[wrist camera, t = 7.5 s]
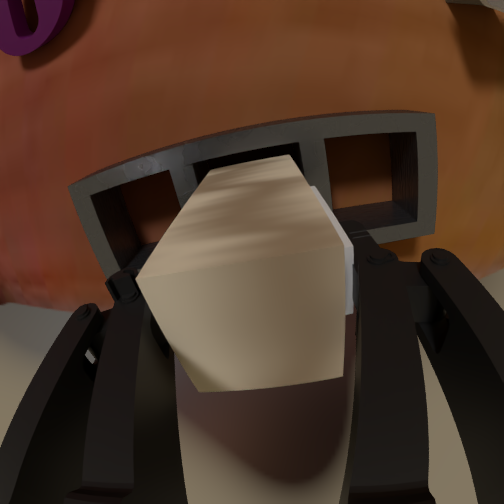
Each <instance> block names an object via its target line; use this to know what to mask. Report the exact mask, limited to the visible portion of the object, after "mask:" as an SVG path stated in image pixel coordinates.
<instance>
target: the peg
mask: <svg viewBox="0 0 504 504" xmlns="http://www.w3.org/2000/svg"><path fill="white" fill-rule="evenodd" d="M136 281H137V283H138V286H139V288H140V290H141V292H142V294H143V296H144V298H145V300H146V302H147V304H148V306H149V308H150V310H151V311H152V313H153V315H154V317H155V319H156V321H157V323H158V325H159V326H160V328H161V330H162V332H163V334H164V335H165V337H166V339H167V341H168V343H169V344H170V346H171V348H172V349H173V351H174V353H175V355H176V356H177V358H178V360H179V361H180V363H181V364H182V366H183V368H184V369H185V371H186V373H187V374H188V376H189V377H190V379H191V381H192V382H193V384H194V385H195V387H196V388H197V390H198V391H199V392H215V391H216V392H217V391H235V390H250V389H261V388H271V387H279V386H288V385H295V384H302V383H308V382H314V381H321V380H326V379H332V378H337V377H341V376H343V365H344V345H345V255H344V244H343V242H342V240H341V238H340V237H339V235H338V233H337V231H336V230H335V228H334V226H333V224H332V223H331V221H330V219H329V217H328V216H327V214H326V212H325V211H324V209H323V207H322V206H321V204H320V202H319V201H318V199H317V197H316V196H315V194H314V192H313V191H312V189H311V187H310V186H309V184H308V183H307V181H306V180H305V178H304V176H303V175H302V173H301V172H300V170H299V169H298V167H297V165H296V164H295V162H294V161H293V159H292V158H291V156H290V155H283V156H277V157H271V158H266V159H260V160H255V161H250V162H245V163H240V164H235V165H230V166H226V167H221V168H217V169H212V170H210V171H209V173H208V174H207V175H206V177H205V178H204V179H203V181H202V182H201V183H200V185H199V186H198V187H197V189H196V190H195V191H194V193H193V194H192V196H191V197H190V198H189V200H188V201H187V202H186V204H185V205H184V207H183V208H182V209H181V211H180V212H179V214H178V215H177V217H176V218H175V219H174V221H173V222H172V224H171V225H170V227H169V228H168V230H167V231H166V232H165V234H164V235H163V237H162V238H161V240H160V241H159V243H158V244H157V246H156V247H155V249H154V251H153V252H152V254H151V255H150V257H149V258H148V260H147V261H146V263H145V265H144V266H143V268H142V269H141V271H140V272H139V274H138V276H137V277H136Z"/></svg>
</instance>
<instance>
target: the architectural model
mask: <svg viewBox="0 0 504 504" xmlns="http://www.w3.org/2000/svg"><path fill="white" fill-rule="evenodd" d="M445 1H446V3H461V4H475V5H484V6H486V7H489V8H493V9H496V10H499V11H501V12H504V0H445Z"/></svg>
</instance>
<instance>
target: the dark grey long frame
mask: <svg viewBox="0 0 504 504" xmlns="http://www.w3.org/2000/svg"><path fill="white" fill-rule="evenodd" d="M375 133H389V141H390V153H391V169H392V200H393V201H387V202H380V203H373V204H366V205H359V206H353V207H346V208H340V209H332V199H331V190H330V181H329V173H328V165H327V158H326V150H325V144H324V138H332V137H341V136H351V135H362V134H375ZM288 143H292V146H293V152H294V158H295V163H296V165H297V167H298V169H299V170H300V172H301V173H302V175H303V176H304V178H305V180H306V181H307V183H308V184H309V186H315V187H316V188H317V190H318V191H319V193H320V194H321V196H322V197H323V199H324V200H325V202H326V203H327V205H328V206H329V208H330V209H331V211H332V213H333V214H334V216H335V217H336V219H337V220H338V222H343V221H349V220H355V221H357V222H359V223H361V224H362V225H363V226H364V227H365V228H366V230H367V231H368V232H369V234H370V236H372V238H373V239H374V240H375V242H376V243H377V244H381V243H387V242H392V241H398V240H403V239H408V238H414V237H419V236H424V235H429V234H434V232H435V221H436V207H437V181H438V161H437V135H436V121H435V114H434V113H427V112H419V111H410V110H376V111H357V112H343V113H332V114H322V115H314V116H306V117H298V118H291V119H285V120H278V121H272V122H266V123H261V124H256V125H250V126H245V127H241V128H236V129H231V130H227V131H222V132H218V133H214V134H210V135H206V136H202V137H198V138H194V139H190V140H187V141H183V142H180V143H176V144H173V145H169V146H166V147H163V148H160V149H156V150H153V151H150V152H147V153H144V154H141V155H138V156H135V157H132V158H130V159H127V160H124V161H121V162H118V163H116V164H113V165H111V166H108V167H105V168H103V169H100V170H98V171H96V172H94V173H92V174H90V175H88V176H86V177H84V178H82V179H80V180H78V181H77V182H75V183H73V184H71V185H69V186H68V189H69V192H70V195H71V197H72V200H73V203H74V206H75V208H76V211H77V213H78V216H79V218H80V221H81V223H82V226H83V228H84V231H85V233H86V235H87V238H88V240H89V242H90V244H91V247H92V249H93V251H94V253H95V256H96V258H97V260H98V262H99V264H100V266H101V268H102V270H103V272H104V274H105V276H106V278H107V279H108V278H109V277H110V276H111V275H113V274H114V273H116V272H118V271H120V270H122V269H125V268H136V269H137V270H138V272H140V271H141V269H142V268H143V266H144V265H145V263H146V261H147V260H148V258H149V257H150V255H151V254H152V252H153V251H154V249H155V247H156V246H157V244H158V243H159V242H154V243H149V244H144V245H141V244H140V241H139V239H138V236H137V234H136V231H135V229H134V226H133V223H132V221H131V218H130V215H129V213H128V210H127V207H126V204H125V201H124V199H123V196H122V193H121V190H120V187H119V185H120V184H123V183H126V182H129V181H132V180H136V179H139V178H142V177H145V176H148V175H152V174H155V173H159V172H162V171H166V170H170V174H171V177H172V181H173V184H174V187H175V191H176V194H177V197H178V200H179V204H180V207H181V209H182V208H183V207H184V205H185V204H186V202H187V201H188V200H189V198H190V197H191V196H192V194H193V193H194V191H195V190H196V189H197V187H198V186H199V185H200V183H201V182H202V181H203V179H204V178H205V177H206V175H207V174H208V173H209V171H210V169H209V165H208V162H207V160H208V159H212V158H216V157H221V156H225V155H230V154H234V153H239V152H244V151H249V150H254V149H259V148H265V147H270V146H276V145H282V144H288Z"/></svg>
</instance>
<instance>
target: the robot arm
mask: <svg viewBox="0 0 504 504" xmlns="http://www.w3.org/2000/svg"><path fill="white" fill-rule="evenodd" d="M310 187H311V189H312V191H313V192H314V194H315V196H316V197H317V199H318V201H319V202H320V204H321V206H322V207H323V209H324V211H325V212H326V214H327V216H328V217H329V219H330V221H331V223H332V224H333V226H334V228H335V230H336V231H337V233H338V235H339V237H340V238H341V240H342V242H343V244H344V255H345V315H347V314H352V313H353V303H354V304H355V307H356V309H357V316H356V333H355V335H356V368H355V369H356V370H355V388H354V402H353V414H352V424H351V434H350V441H349V449H348V457H347V463H346V469H345V475H344V481H343V486H342V491H341V496H340V501H339V504H436V502H435V499H434V497H433V496H432V494H431V493H430V492H429V488H428V469H429V468H428V467H429V437H428V417H427V403H426V392H425V383H424V375H423V368H422V361H421V355H420V349H419V343H418V338H417V336H418V337H419V340H420V342H421V344H422V346H423V348H424V350H425V352H426V354H427V356H428V358H429V360H430V363H431V365H432V367H433V369H434V371H435V374H436V376H437V378H438V380H439V383H440V385H441V387H442V390H443V392H444V394H445V397H446V400H447V402H448V405H449V407H450V410H451V412H452V415H453V418H454V421H455V423H456V426H457V429H458V432H459V435H460V438H461V441H462V444H463V447H464V450H465V454H466V456H467V460H468V464H469V467H470V471H471V474H472V479H473V483H474V487H475V492H476V496H477V501H478V504H504V311H503V310H502V308H501V307H500V306H499V304H498V303H497V302H496V301H495V300H494V298H493V297H492V296H491V295H490V294H489V292H488V291H487V290H486V289H485V288H484V286H483V285H482V284H481V283H480V282H479V281H478V279H477V278H476V277H475V276H474V275H473V274H472V273H471V272H470V271H469V269H468V268H467V267H466V266H465V265H464V264H463V263H462V262H461V261H460V260H459V259H458V258H457V257H456V256H455V255H454V254H453V253H451V252H449V251H447V250H445V249H440V248H434V249H428V250H426V251H424V252H423V253H422V256H421V262H401V261H399V260H398V257H397V256H396V254H395V253H393V252H392V251H390V250H387V249H383V248H380V247H379V246H378V244H377V243H376V242H375V240H374V239H373V238H372V236H370V234H369V232H368V231H367V230H366V228H365V227H364V226H363V225H362V224H361V223H359V222H357V221H355V220H349V221H343V222H338V220H337V219H336V217H335V216H334V214H333V213H332V211H331V209H330V208H329V206H328V205H327V203H326V202H325V200H324V199H323V197H322V196H321V194H320V193H319V191H318V190H317V188H316V187H315V186H310ZM138 274H139V272H138V270H137V269H136V268H125V269H122V270H120V271H118V272H116V273H114V274H113V275H111V276H110V277H109V278H108V279H107V281H106V282H105V285H106V286H107V288H108V290H109V292H110V294H111V296H112V298H113V300H114V301H115V303H114V306H113V308H112V309H109V310H106V311H103V312H100V310H99V308H98V307H97V305H96V304H94V303H89V304H84V305H82V306H80V307H79V308H78V309H77V310H76V311H75V312H74V313H73V314H72V315H71V317H70V318H69V320H68V321H67V323H66V324H65V326H64V327H63V329H62V330H61V332H60V334H59V335H58V337H57V338H56V340H55V341H54V343H53V345H52V346H51V348H50V350H49V351H48V353H47V355H46V357H45V358H44V360H43V361H42V363H41V365H40V366H39V368H38V370H37V372H36V374H35V375H34V377H33V379H32V381H31V383H30V385H29V386H28V388H27V390H26V392H25V394H24V396H23V398H22V400H21V402H20V404H19V406H18V408H17V410H16V413H15V415H14V417H13V419H12V421H11V423H10V426H9V428H8V430H7V433H6V435H5V437H4V440H3V442H2V445H1V447H0V504H188V501H187V495H186V488H185V482H184V474H183V467H182V459H181V450H180V441H179V430H178V418H177V404H176V387H175V364H174V351H173V349H172V348H171V346H170V344H169V343H168V341H167V339H166V337H165V335H164V334H163V332H162V330H161V328H160V326H159V325H158V323H157V321H156V319H155V317H154V315H153V313H152V311H151V310H150V308H149V306H148V304H147V302H146V300H145V298H144V296H143V294H142V292H141V290H140V288H139V286H138V283H137V281H136V277H137V276H138ZM87 350H89V351H90V352H91V354H92V355H93V356H94V358H95V361H94V363H93V364H92V363H91V362H90V361H89V360H88V359H87V357H86V356H85V354H86V352H87Z"/></svg>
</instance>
